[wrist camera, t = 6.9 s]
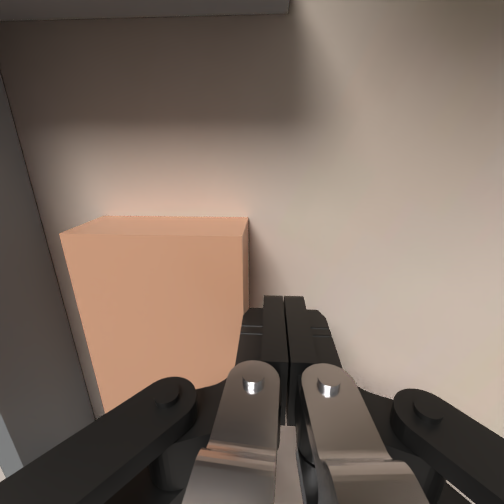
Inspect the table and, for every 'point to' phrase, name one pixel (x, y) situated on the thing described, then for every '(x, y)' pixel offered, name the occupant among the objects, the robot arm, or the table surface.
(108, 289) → the tile
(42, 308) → the box
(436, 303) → the table surface
